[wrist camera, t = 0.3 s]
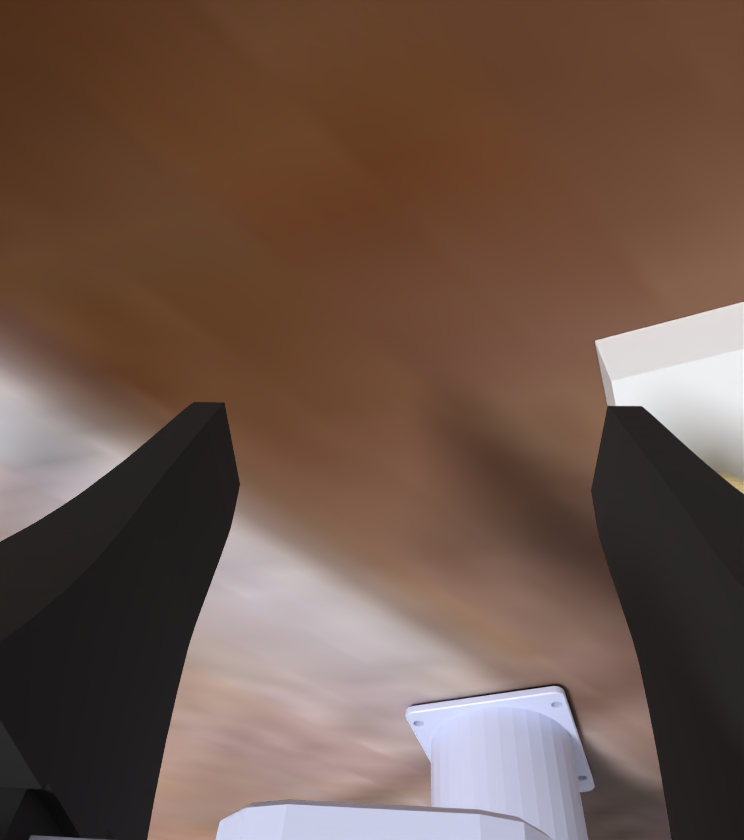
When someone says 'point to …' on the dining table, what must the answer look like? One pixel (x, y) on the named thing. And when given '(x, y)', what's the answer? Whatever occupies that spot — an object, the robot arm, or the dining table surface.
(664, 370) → the plate
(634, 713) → the dining table surface
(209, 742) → the dining table surface
